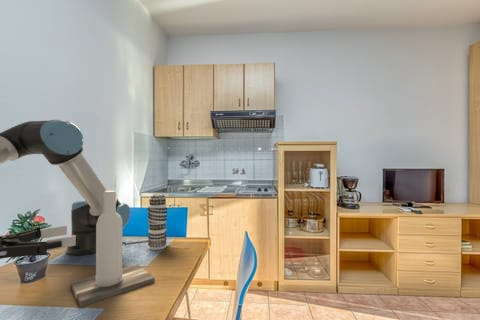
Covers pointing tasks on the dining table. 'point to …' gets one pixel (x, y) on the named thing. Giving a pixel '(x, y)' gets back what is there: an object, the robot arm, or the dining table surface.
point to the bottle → (109, 243)
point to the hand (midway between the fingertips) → (70, 234)
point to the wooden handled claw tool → (134, 242)
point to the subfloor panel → (91, 292)
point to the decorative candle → (157, 222)
